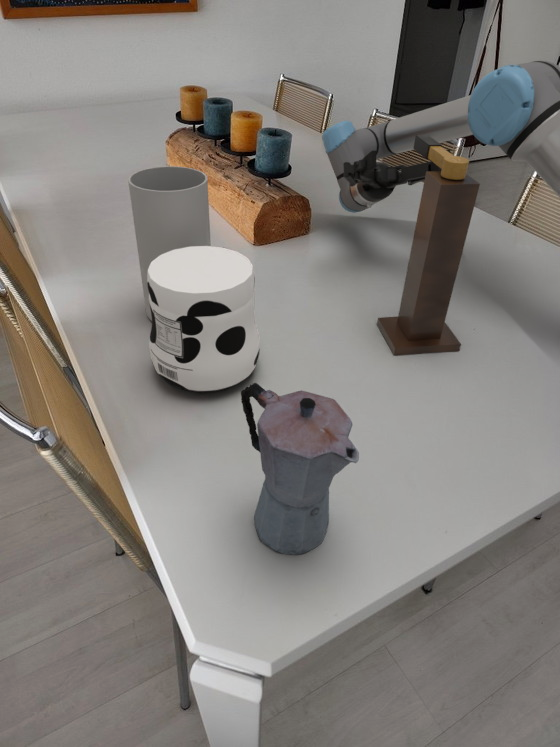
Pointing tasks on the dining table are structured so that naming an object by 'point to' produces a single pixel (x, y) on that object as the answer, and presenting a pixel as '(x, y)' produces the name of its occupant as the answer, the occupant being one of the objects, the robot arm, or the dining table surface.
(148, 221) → the cylinder vase
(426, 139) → the lever
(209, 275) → the milk container
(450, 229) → the stand
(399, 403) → the dining table surface
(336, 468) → the moka pot
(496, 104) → the robot arm
